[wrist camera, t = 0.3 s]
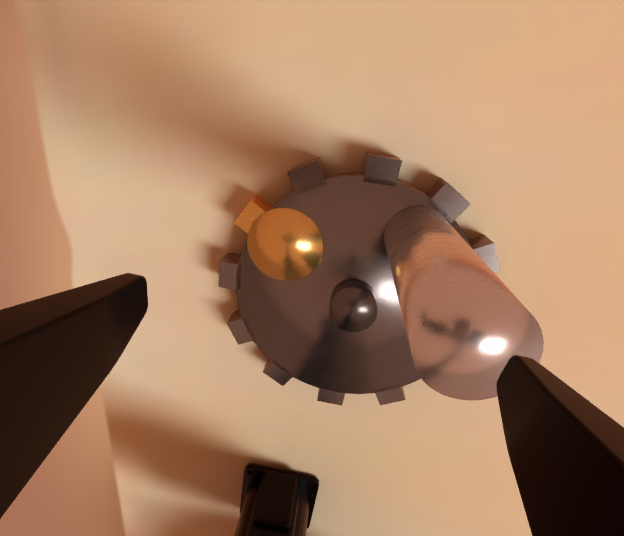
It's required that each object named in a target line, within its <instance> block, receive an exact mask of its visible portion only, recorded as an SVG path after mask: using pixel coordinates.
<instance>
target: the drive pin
mask: <svg viewBox="0 0 624 536" xmlns="http://www.w3.org/2000/svg"><path fill="white" fill-rule="evenodd" d="M384 243H385V247H386V251H387V256H388V260H389V264H390V268H391V272H392V276H393V280H394V284H395V288H396V292H397V296H398V300H399V305H400V309H401V313H402V317H403V321H404V325H405V329H406V333H407V337H408V341H409V345H410V349H411V353H412V358H413V362H414V366H415V368H416V370H417V373H418V374H419V376H420V377H421V379H422V380H423V381H424V382H425V383H426V384H427V385H428V386H429V387H431V388H432V389H434V390H435V391H437V392H439V393H441V394H443V395H445V396H448V397H452V398H456V399H462V400H483V399H489V398H493V397H497V396H498V395H497V389H496V384H497V380H498V378H499V376H500V374H501V372H502V371H503V369H504V367H505V365H506V364H507V362H508V360H509V359H510V357H512V356H513V355H519V356H524V357H529V358H532V359H534V360H535V361H537V362H538V363H539V361H540V359H541V356H542V352H543V344H544V342H543V335H542V331H541V328H540V326H539V324H538V322H537V321H536V319H535V318H534V317H533V316H532V314H531V313H530V312H529V311H528V310H527V309H526V308H525V307H524V306H523V304H522V303H521V302H520V301H519V300H518V299H517V298H516V297H515V296H514V294H513V293H512V292H511V291H510V290H509V289H508V288H507V287H506V286H505V284H504V283H503V282H502V281H501V280H500V279H499V278H498V277H497V276H496V274H495V273H494V272H493V271H492V270H491V269H490V268H489V267H488V266H487V265H486V263H485V262H484V261H483V260H482V259H481V258H480V257H479V256H478V255H477V253H476V252H475V251H474V250H473V249H472V248H471V247H470V246H469V245H468V243H467V242H466V241H465V240H464V239H463V238H462V237H461V236H460V235H459V233H458V232H457V231H456V230H455V229H454V228H453V227H452V226H451V225H450V223H449V222H448V221H447V220H446V219H445V218H444V217H443V216H442V215H441V214H440V213H439V212H438V211H437V210H435V209H433V208H431V207H428V206H423V205H414V206H409V207H406V208H404V209H402V210H400V211H399V212H397V213H396V214H395V215H394V216H393V217H392V218H391V219H390V220H389V222H388V224H387V226H386V228H385V232H384Z"/></svg>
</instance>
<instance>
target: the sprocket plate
mask: <svg viewBox="0 0 624 536" xmlns="http://www.w3.org/2000/svg"><path fill="white" fill-rule="evenodd" d="M401 162H402V160H401V159H399V158H397V157H391V156H385V155H380V154H374V153H368V152H367V156H366V161H365V166H364V171H363V173H344V174H337V175H331V176H327V175H326V172H325V170H324V167H323V164H322V161H321V159H320V157H319V158H317V159H314V160H312V161H309V162H307V163H304V164H302V165H299V166H297V167H294V168H292V169H290V170H289V171H288V175H289V177H290V180H291V182H292V185H293V187H294V190H293V191H292V192H290V193H288V194H287V195H285V196H284V197H283V198H282V199H280V200H279V201H278V202H277V203H276V204H274V205H273V206H270V205H269V204H268V203H267V202H265V201H264V200H263V199H262V198H260V197H259V196H258V195H256V196H255V197H254V198H252V199H251V200H250V201H249V203H248V204H247V206H246V207H245V208H244V210H243V211H242V212H241V214H240V215H239V216H238V218H237V219H236V221H235V222H234V224H236V225H237V226H238V227H239V228H241V229H242V230H243V231H245V232H246V233H247V234H248V238H247V241H246V243H245V245H244V247H243V249H242V253H241V255H237V254H231V253H227V254H226V255H225V256H224V257H223V258H222V259H221V261H220V270H219V287H223V288H229V289H234V290H236V294H237V301H238V306H239V310H238V311H235V312H233V314H232V315H231V317H230V319H229V320H228V322H227V324H228V326H229V328H230V330H231V332H232V334H233V336H234V337H235V339H236V341H237V343H238V344H242V343H246V342H249V341H254V342H255V343H256V345H257V346H258V347H259V349H260V350H261V351H262V352H263V353H264V354H265V355H266V356H267V357H268V359H267V362H266V364H265V367H264V370H263V372H264V373H265V374H267V375H268V376H269V377H271V378H272V379H274V380H275V381H276V382H278V383H279V384H281V385H282V386H283V385H284V384H285V383H287V382H288V381H289V380H290V379H291V378H292V377H294V378H296V379H298V380H300V381H302V382H304V383H307V384H310V385H312V386H315V387H318V388H319V391H318V399H317V401H322V402H327V403H332V404H337V405H342V403H343V399H344V395H345V393H352V394H365V393H376V396H377V398H378V401H379V403H380V405H384V404H388V403H393V402H398V401H402V400H405V396H404V390H403V386H405V385H407V384H410V383H412V382H415V381H417V380H419V379H421V377H420V376H419V374H418V373H417V370H416V368H415V366H414V362H413V358H412V353H411V349H410V345H409V341H408V337H407V333H406V329H405V325H404V321H403V317H402V313H401V309H400V305H399V300H398V296H397V292H396V288H395V284H394V280H393V276H392V272H391V268H390V264H389V260H388V256H387V251H386V247H385V243H384V232H385V228H386V226H387V224H388V222H389V220H390V219H391V218H392V217H393V216H394V215H395V214H396V213H397V212H399V211H400V210H402V209H404V208H406V207H409V206H414V205H423V206H428V207H431V208H433V209H435V210H437V211H438V212H439V213H440V214H441V215H442V216H443V217H444V218H445V219H446V220H447V221H448V222H449V223H450V225H451V226H452V227H453V228H454V229H455V230H456V231H457V232H458V233H459V235H460V236H461V237H462V238H463V239H464V240H465V241H466V242H467V243H468V245H469V246H470V247H471V248H472V249H473V250H474V251H475V252H476V253H477V255H478V256H479V257H480V258H481V259H482V260H483V261H484V262H485V263H486V265H487V266H488V267H489V268H490V269H491V270H492V271H493V272H494V273H495V272H499V271H500V269H499V264H498V260H497V255H496V251H495V246H494V243H493V242H492V241H491V240H490V239H489V238H487V237H486V236H485V235H484V236H481V237H477V238H474V239H471V240H468V239H467V237H466V235H465V233H464V232H463V231H462V229H461V228H460V226H459V225H458V224H457V222H456V221H455V219H456V218H457V217H458V216H459V215H460V214H461V213H462V212H463V211H464V210H465V209H466V208H467V207H468V206H469V205H470V203H469V202H468V201H467V200H466V199H465V198H464V197H463V196H462V195H460V194H459V193H458V192H457V191H456V190H455V189H454V188H453V187H452V186H451V185H449V184H448V183H447V182H446V181H444V180H443V179H442V178H441V179H440V180H439V181H438V182H437V183H436V184H435V185H434V186H433V187H432V188H431V189H430V190H429V191H428V192H427V193H424V192H423V191H421V190H419V189H417V188H416V187H414V186H412V185H410V184H408V183H405V182H402V181H400V180H397V179H398V175H399V170H400V166H401Z"/></svg>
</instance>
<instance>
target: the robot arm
mask: <svg viewBox="0 0 624 536" xmlns="http://www.w3.org/2000/svg"><path fill="white" fill-rule="evenodd" d="M147 308H148V297H147V282H146V279H145V278H144V277H143V276H140V275H136V274H131V273H126V274H122V275H119V276H115V277H112V278H108V279H105V280H102V281H98V282H95V283H91V284H88V285H84V286H81V287H77V288H74V289H71V290H67V291H64V292H60V293H57V294H53V295H50V296H46V297H43V298H40V299H36V300H33V301H30V302H26V303H23V304H19V305H16V306H12V307H9V308H5V309H2V310H0V518H1V517H2V516H3V514H4V513H5V512H6V510H7V509H8V508H9V506H10V505H11V504H12V502H13V501H14V500H15V498H16V497H17V495H18V494H19V493H20V492H21V490H22V489H23V488H24V486H25V485H26V484H27V482H28V481H29V479H30V478H31V477H32V476H33V474H34V473H35V472H36V470H37V469H38V467H39V466H40V465H41V464H42V462H43V461H44V459H45V458H46V457H47V455H48V454H49V453H50V451H51V450H52V449H53V447H54V446H55V445H56V443H57V442H58V441H59V439H60V438H61V437H62V435H63V434H64V433H65V431H66V430H67V429H68V427H69V426H70V425H71V423H72V422H73V420H74V419H75V418H76V417H77V415H78V414H79V413H80V411H81V410H82V409H83V407H84V406H85V405H86V403H87V402H88V401H89V399H90V398H91V397H92V395H93V394H94V392H95V391H96V390H97V389H98V387H99V386H100V385H101V383H102V382H103V381H104V379H105V378H106V377H107V375H108V374H109V373H110V371H111V370H112V368H113V367H114V365H115V364H116V362H117V361H118V359H119V358H120V356H121V354H122V353H123V351H124V349H125V348H126V346H127V344H128V343H129V341H130V339H131V337H132V336H133V334H134V332H135V331H136V329H137V327H138V326H139V324H140V322H141V320H142V319H143V317H144V315H145V313H146V311H147ZM496 389H497V395H498V401H499V406H500V412H501V417H502V423H503V429H504V434H505V440H506V444H507V449H508V453H509V457H510V460H511V464H512V467H513V471H514V474H515V478H516V481H517V484H518V488H519V491H520V495H521V498H522V502H523V505H524V508H525V512H526V515H527V519H528V522H529V525H530V529H531V532H532V536H624V428H623V427H622V426H621V425H620V424H618V423H617V422H616V421H614V420H613V419H612V418H610V417H609V416H608V415H606V414H605V413H604V412H602V411H601V410H600V409H598V408H597V407H596V406H594V405H593V404H592V403H591V402H589V401H588V400H587V399H585V398H584V397H583V396H581V395H580V394H579V393H577V392H576V391H575V390H573V389H572V388H571V387H569V386H568V385H567V384H565V383H564V382H563V381H562V380H560V379H559V378H558V377H556V376H555V375H554V374H552V373H551V372H550V371H548V370H547V369H546V368H544V367H543V366H542V365H540V364H539V363H538V362H537V361H535V360H534V359H532V358H529V357H524V356H519V355H513V356H512V357H510V359H509V360H508V362H507V364H506V365H505V367H504V369H503V371H502V372H501V374H500V376H499V378H498V380H497V384H496ZM318 487H319V480H318V479H317V478H315V477H310V476H305V475H300V474H295V473H291V472H286V471H281V470H276V469H271V468H266V467H262V466H257V465H252V464H249V465H247V466H246V468H245V471H244V479H243V488H242V497H241V506H240V517H239V521H238V524H237V528H236V531H235V535H234V536H306V530H307V528H309V525H310V521H311V516H312V512H313V508H314V504H315V500H316V496H317V491H318Z"/></svg>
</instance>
